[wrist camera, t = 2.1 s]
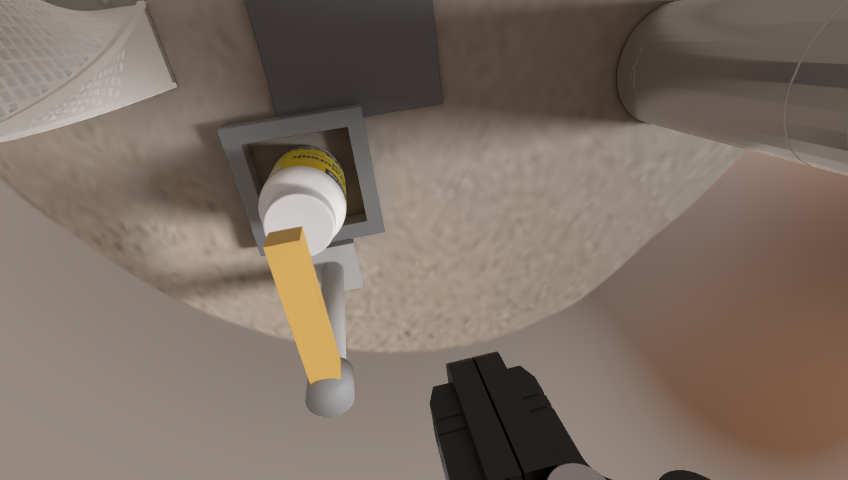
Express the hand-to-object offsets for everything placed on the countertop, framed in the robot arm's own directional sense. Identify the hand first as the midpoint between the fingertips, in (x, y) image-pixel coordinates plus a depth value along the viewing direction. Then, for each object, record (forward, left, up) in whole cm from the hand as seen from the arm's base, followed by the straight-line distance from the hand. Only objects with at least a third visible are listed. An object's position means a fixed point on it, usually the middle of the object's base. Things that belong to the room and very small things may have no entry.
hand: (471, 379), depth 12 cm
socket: (+6, +3, -24) cm, 24 cm away
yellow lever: (+6, +4, -11) cm, 13 cm away
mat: (+1, -10, -24) cm, 26 cm away
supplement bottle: (+6, 0, -24) cm, 25 cm away
